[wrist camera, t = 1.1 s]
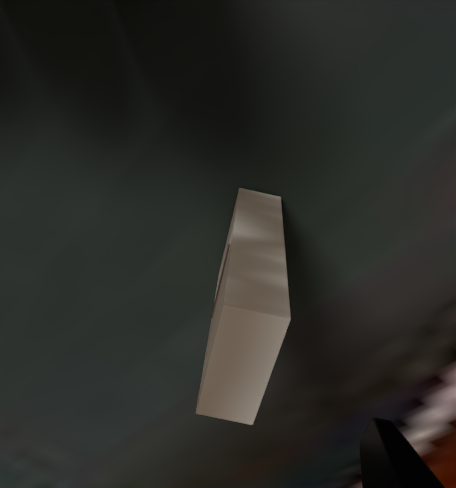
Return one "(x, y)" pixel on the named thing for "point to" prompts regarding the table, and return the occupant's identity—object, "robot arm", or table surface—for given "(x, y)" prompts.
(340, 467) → the table surface
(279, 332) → the domino
